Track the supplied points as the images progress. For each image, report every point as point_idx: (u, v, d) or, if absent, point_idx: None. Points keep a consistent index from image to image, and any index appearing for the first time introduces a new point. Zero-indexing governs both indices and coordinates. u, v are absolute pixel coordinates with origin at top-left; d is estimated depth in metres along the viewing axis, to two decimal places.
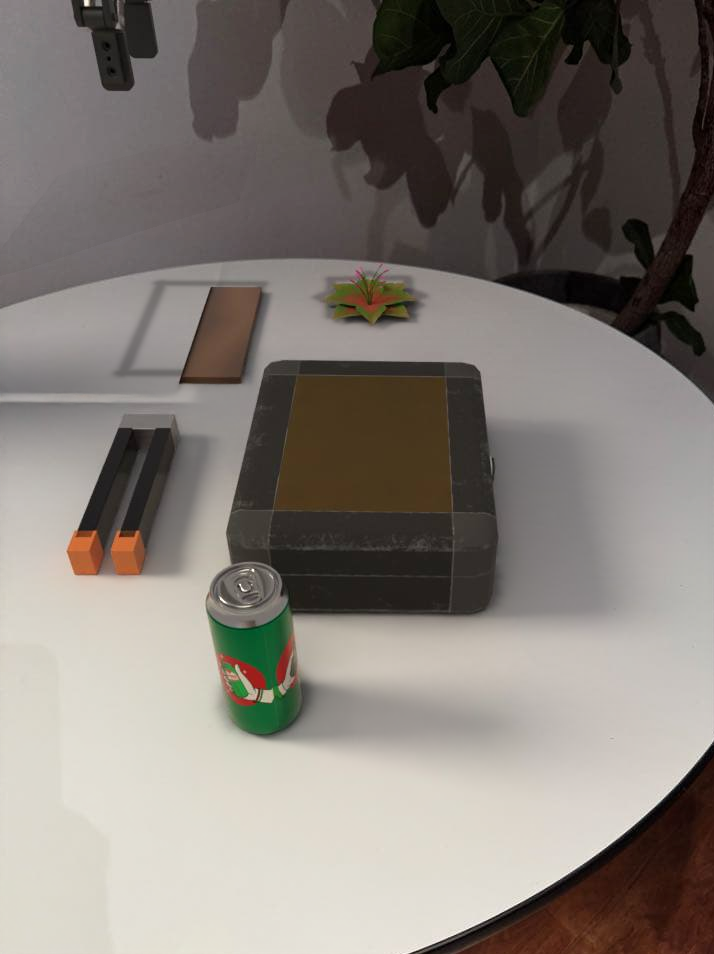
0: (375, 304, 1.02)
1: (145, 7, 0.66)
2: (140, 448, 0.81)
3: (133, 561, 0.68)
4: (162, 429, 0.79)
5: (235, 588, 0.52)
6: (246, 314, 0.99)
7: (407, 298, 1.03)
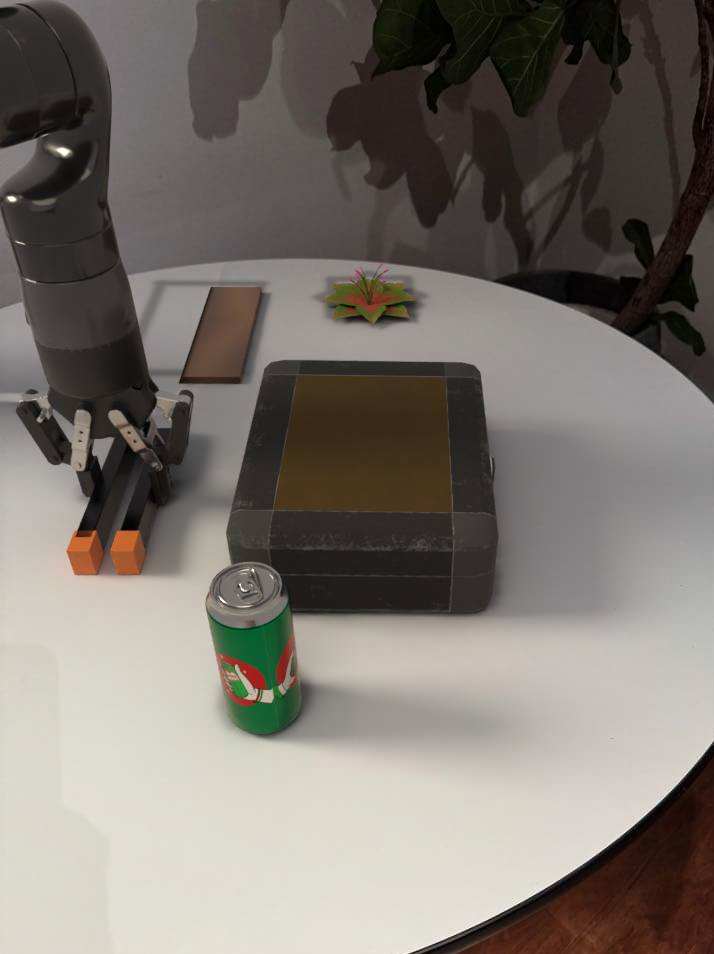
0: (375, 304, 1.02)
1: None
2: None
3: (133, 561, 0.68)
4: (162, 429, 0.79)
5: (235, 588, 0.52)
6: (246, 314, 0.99)
7: (407, 298, 1.03)
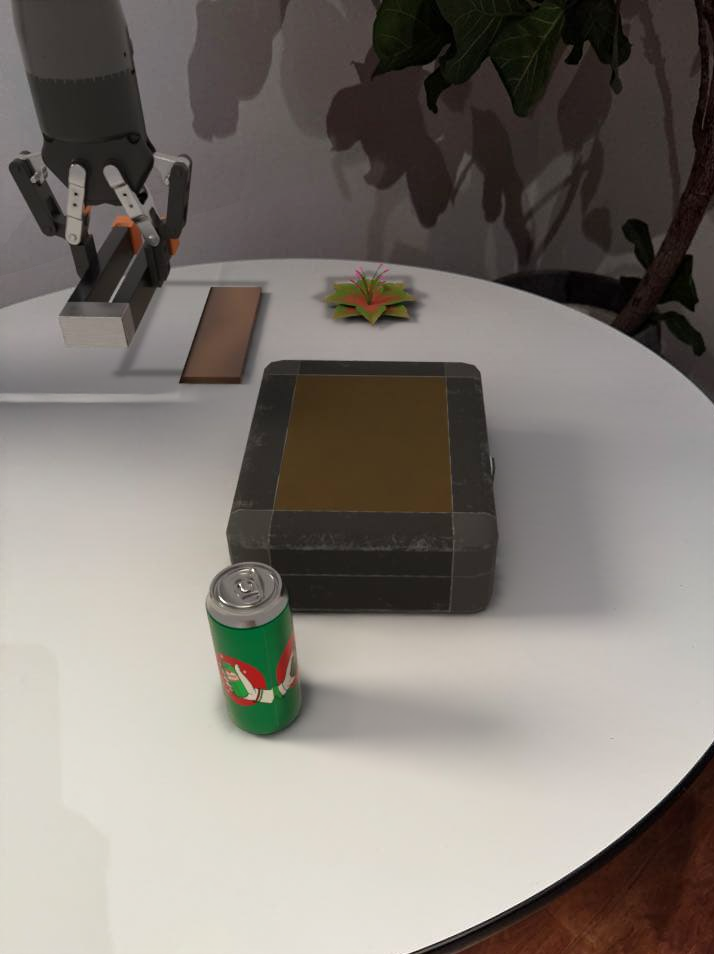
0: (375, 304, 1.02)
1: (92, 237, 0.72)
2: None
3: None
4: (76, 300, 0.67)
5: (235, 588, 0.52)
6: (246, 314, 0.99)
7: (407, 298, 1.03)
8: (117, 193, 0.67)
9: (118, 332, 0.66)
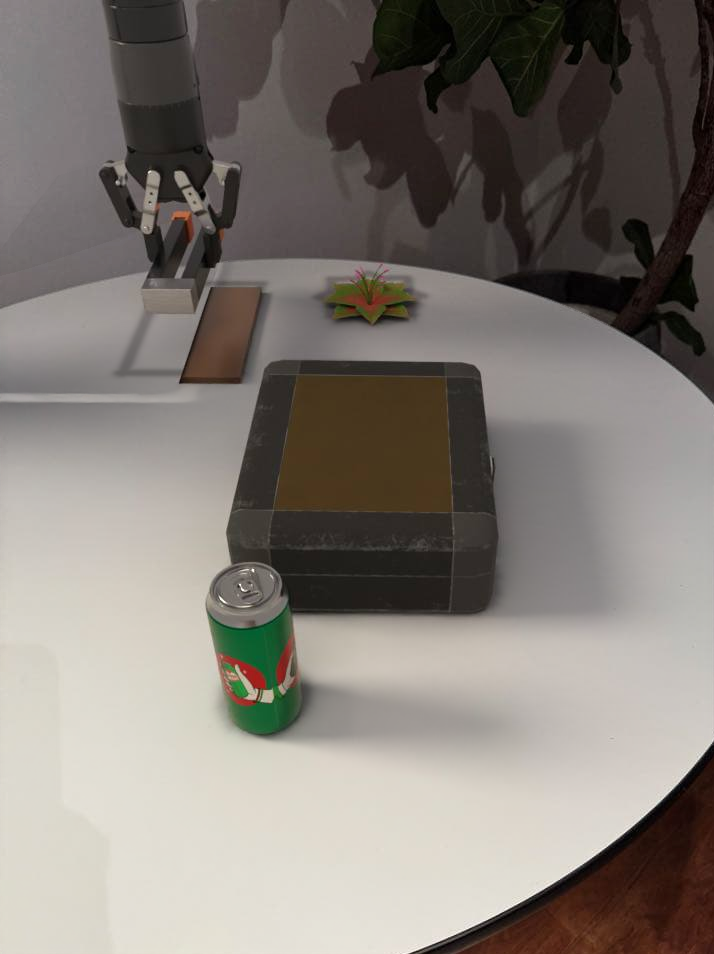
0: (375, 304, 1.02)
1: (159, 228, 0.90)
2: None
3: None
4: (153, 277, 0.85)
5: (235, 588, 0.52)
6: (246, 314, 0.99)
7: (407, 298, 1.03)
8: (184, 192, 0.85)
9: (187, 301, 0.84)
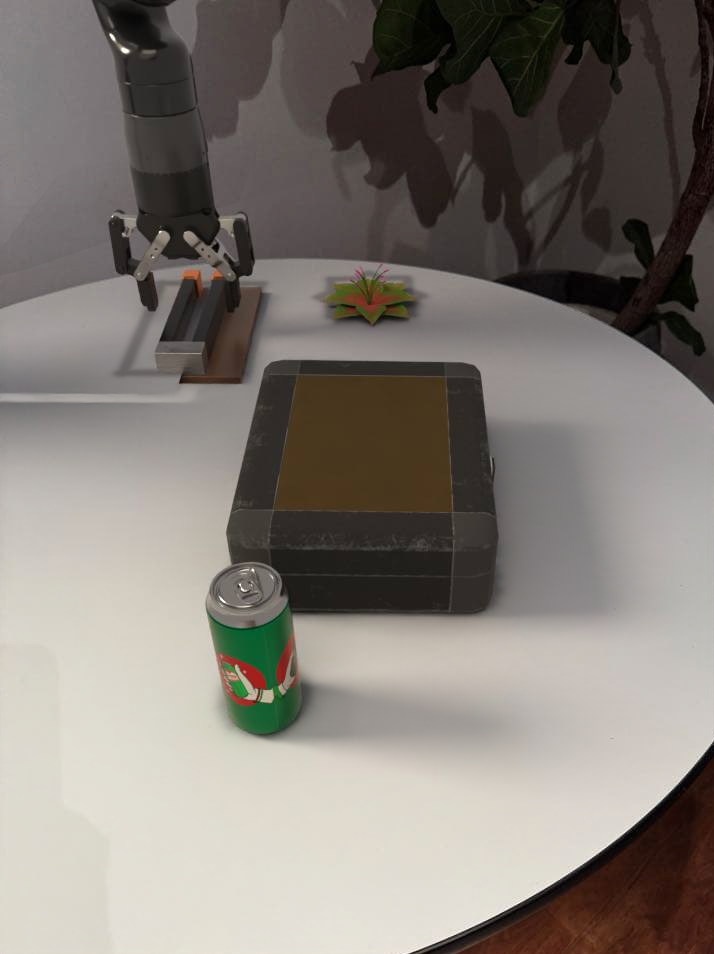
0: (375, 304, 1.02)
1: (152, 274, 0.93)
2: None
3: None
4: (165, 340, 0.90)
5: (235, 588, 0.52)
6: (246, 314, 0.99)
7: (407, 298, 1.03)
8: (197, 250, 0.89)
9: (198, 363, 0.89)
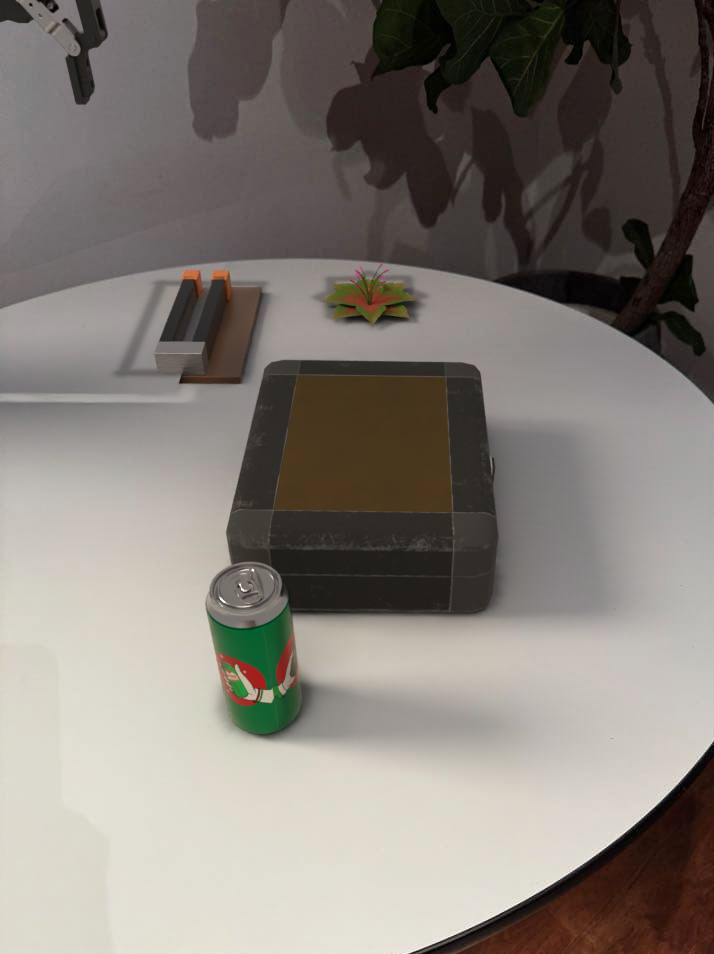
0: (375, 304, 1.02)
1: None
2: None
3: None
4: (165, 340, 0.90)
5: (235, 588, 0.52)
6: (246, 314, 0.99)
7: (407, 298, 1.03)
8: (24, 5, 0.68)
9: (198, 363, 0.89)
